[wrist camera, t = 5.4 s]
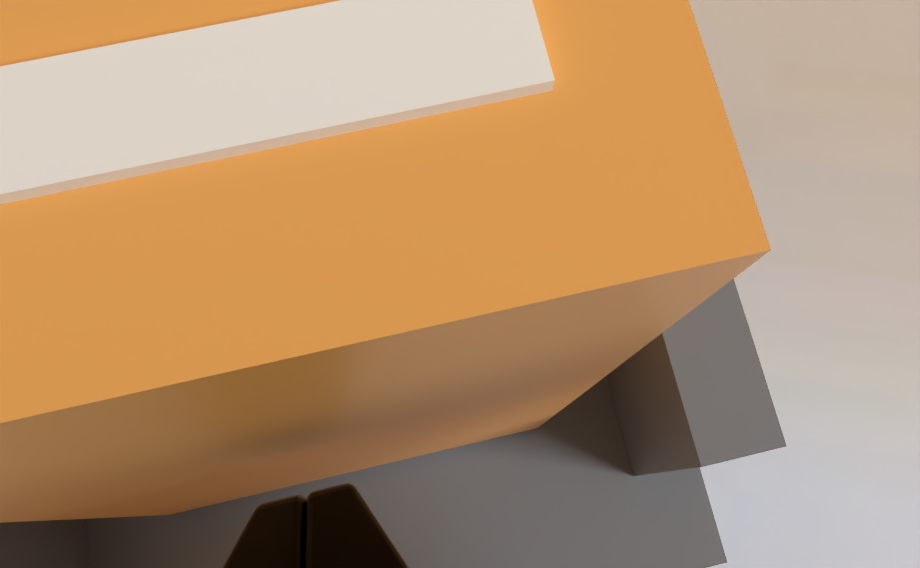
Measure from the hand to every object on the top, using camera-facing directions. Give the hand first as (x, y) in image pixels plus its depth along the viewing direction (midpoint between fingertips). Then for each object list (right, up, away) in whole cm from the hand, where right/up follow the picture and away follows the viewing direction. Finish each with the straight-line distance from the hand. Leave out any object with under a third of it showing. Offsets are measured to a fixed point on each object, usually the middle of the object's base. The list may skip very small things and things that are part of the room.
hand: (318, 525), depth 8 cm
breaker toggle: (-1, +1, +5) cm, 6 cm away
